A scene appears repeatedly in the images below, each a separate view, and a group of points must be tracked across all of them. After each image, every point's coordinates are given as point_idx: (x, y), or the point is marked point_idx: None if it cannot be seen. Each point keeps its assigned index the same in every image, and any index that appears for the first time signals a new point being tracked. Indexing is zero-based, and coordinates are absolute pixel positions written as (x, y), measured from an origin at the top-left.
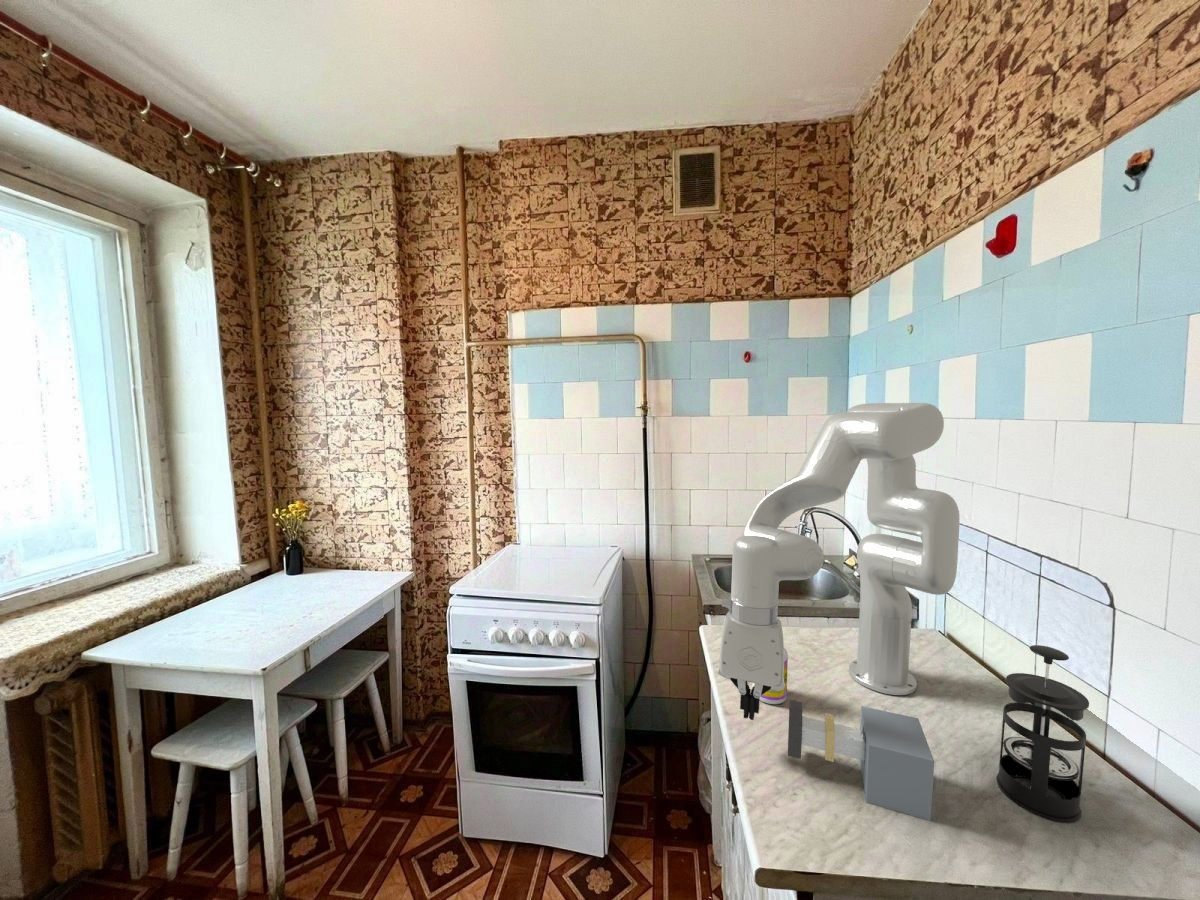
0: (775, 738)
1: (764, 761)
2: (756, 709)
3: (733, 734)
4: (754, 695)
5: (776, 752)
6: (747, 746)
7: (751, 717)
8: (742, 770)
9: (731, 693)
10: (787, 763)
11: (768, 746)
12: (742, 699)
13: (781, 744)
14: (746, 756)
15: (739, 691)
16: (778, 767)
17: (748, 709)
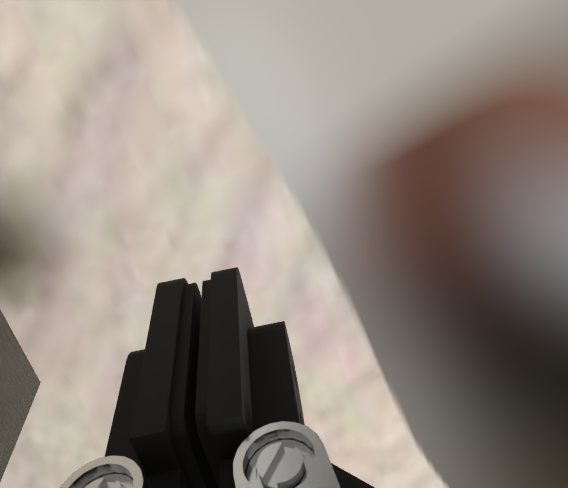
0: (133, 343)
1: (109, 165)
2: (141, 368)
3: (318, 258)
4: (131, 476)
5: (88, 261)
6: (227, 219)
7: (170, 289)
8: (181, 18)
9: (402, 480)
10: (7, 220)
11: (138, 277)
12: (272, 389)
13: (92, 324)
14: (204, 144)
15: (312, 443)
16: (29, 165)
17: (203, 333)
